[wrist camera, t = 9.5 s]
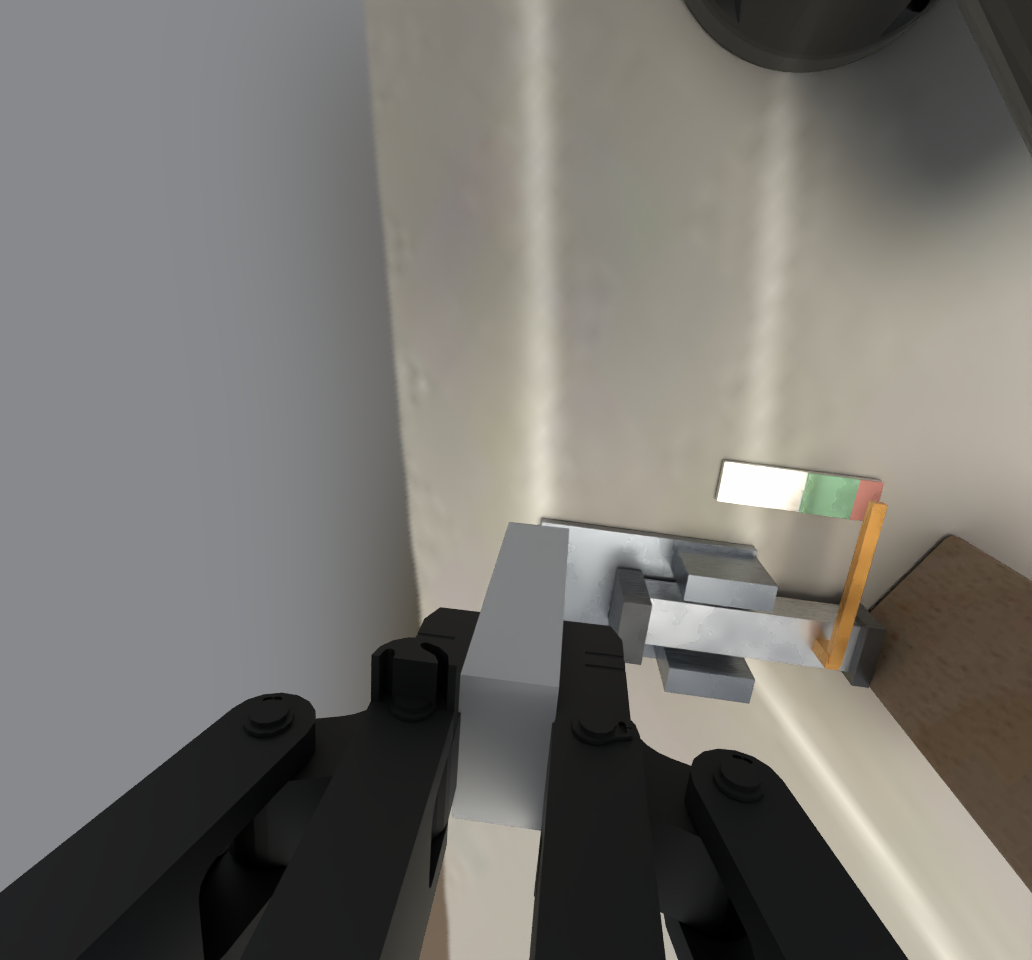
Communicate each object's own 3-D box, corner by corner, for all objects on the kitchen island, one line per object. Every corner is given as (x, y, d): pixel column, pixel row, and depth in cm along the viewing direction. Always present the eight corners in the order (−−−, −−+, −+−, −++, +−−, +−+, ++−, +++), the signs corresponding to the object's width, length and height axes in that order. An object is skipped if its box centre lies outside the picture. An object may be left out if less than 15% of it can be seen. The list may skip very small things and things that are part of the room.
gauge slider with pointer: (636, 452, 39) (647, 474, 34) (890, 484, 38) (939, 512, 33) (607, 621, 42) (613, 664, 37) (842, 653, 42) (880, 701, 37)
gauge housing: (553, 438, 40) (551, 457, 35) (879, 479, 39) (925, 505, 34) (526, 634, 44) (522, 677, 39) (824, 675, 43) (858, 725, 38)
